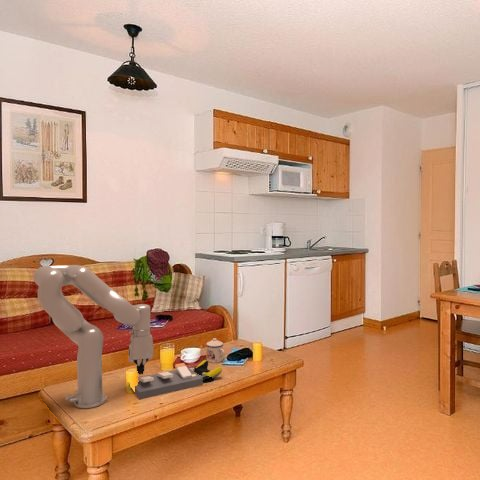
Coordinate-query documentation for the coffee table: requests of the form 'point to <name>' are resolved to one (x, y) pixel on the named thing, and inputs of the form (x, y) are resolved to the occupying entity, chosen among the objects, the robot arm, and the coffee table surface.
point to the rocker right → (183, 370)
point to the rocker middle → (164, 374)
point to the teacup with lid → (215, 351)
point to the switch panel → (166, 384)
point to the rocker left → (145, 378)
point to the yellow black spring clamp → (206, 370)
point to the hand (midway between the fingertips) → (140, 373)
